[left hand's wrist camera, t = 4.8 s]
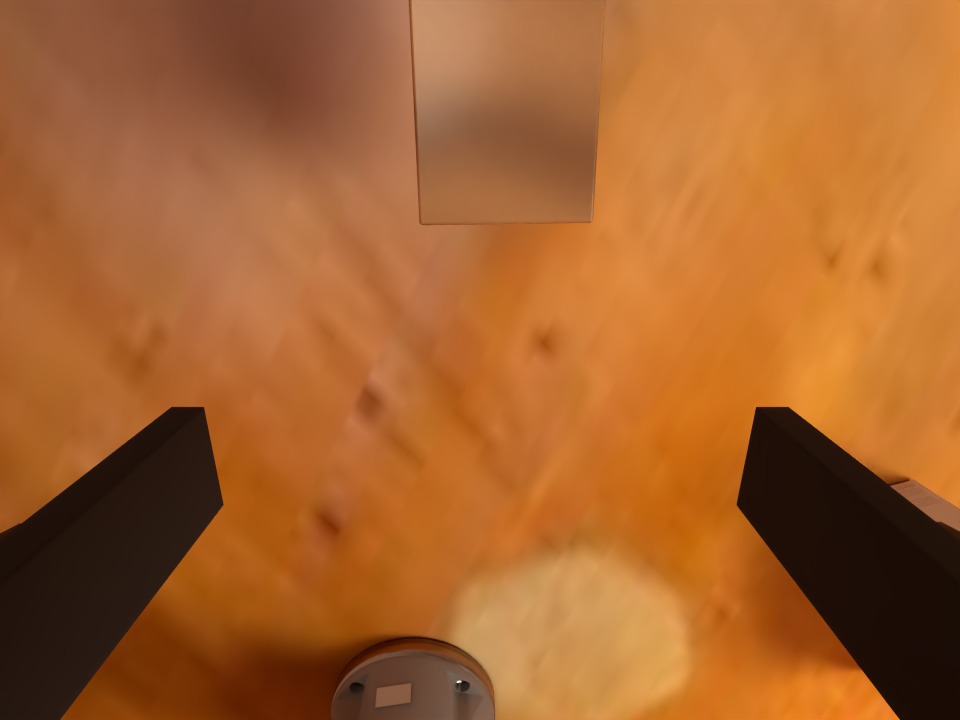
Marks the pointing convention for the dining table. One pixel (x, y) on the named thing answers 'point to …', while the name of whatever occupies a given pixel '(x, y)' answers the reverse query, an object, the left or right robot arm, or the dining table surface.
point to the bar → (506, 109)
